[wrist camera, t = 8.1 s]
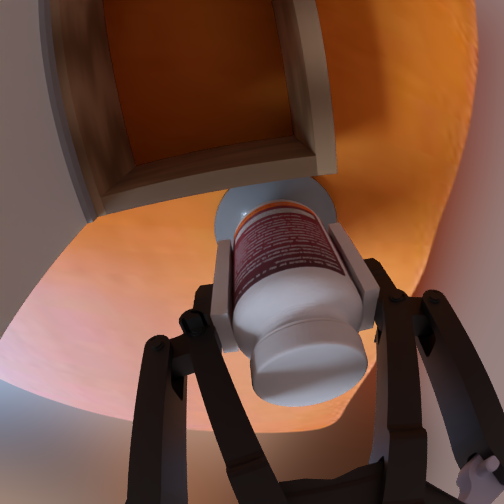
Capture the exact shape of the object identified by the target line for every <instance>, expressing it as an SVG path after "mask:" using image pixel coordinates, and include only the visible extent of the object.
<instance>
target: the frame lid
mask: <svg viewBox="0 0 504 504" xmlns="http://www.w3.org/2000/svg"><path fill="white" fill-rule="evenodd" d="M96 218H97V214H96V212H95V209H94V206H93V203H92V201H91V198H90V195H89V192H88V189H87V186H86V183H85V180H84V177H83V174H82V171H81V168H80V165H79V162H78V158H77V155H76V151H75V148H74V144H73V141H72V137H71V133H70V129H69V125H68V121H67V117H66V113H65V109H64V104H63V99H62V95H61V90H60V84H59V79H58V73H57V67H56V60H55V53H54V45H53V36H52V26H51V12H50V0H0V339H1V337H2V335H3V334H4V332H5V331H6V329H7V327H8V326H9V324H10V323H11V321H12V320H13V318H14V316H15V315H16V313H17V312H18V310H19V309H20V307H21V306H22V305H23V303H24V302H25V300H26V299H27V297H28V296H29V295H30V293H31V292H32V290H33V289H34V288H35V286H36V285H37V284H38V282H39V281H40V280H41V278H42V277H43V276H44V274H45V273H46V272H47V270H48V269H49V268H50V267H51V265H52V264H53V263H54V262H55V260H56V259H57V258H58V257H59V255H60V254H61V253H62V252H63V251H64V249H65V248H66V247H67V246H68V245H69V244H70V242H71V241H72V240H73V239H74V238H75V237H76V235H77V234H78V233H79V232H80V231H81V230H82V229H83V228H84V226H85V225H86V224H87V223H91V222H93V221H94V220H95V219H96Z"/></svg>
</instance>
